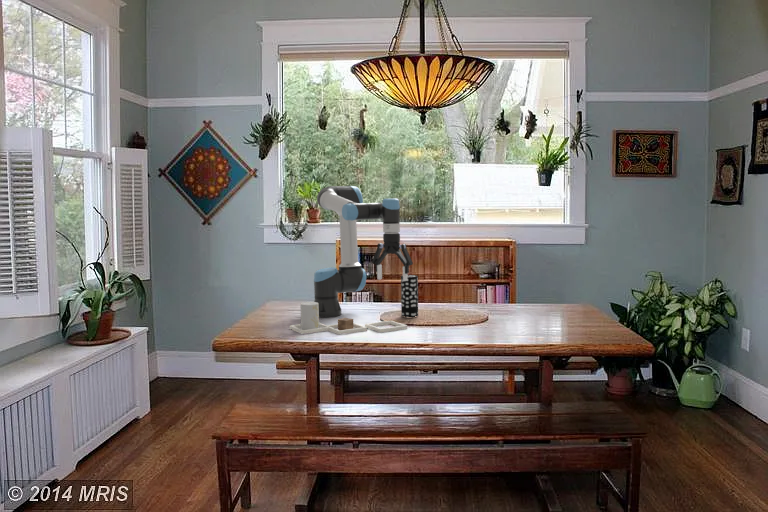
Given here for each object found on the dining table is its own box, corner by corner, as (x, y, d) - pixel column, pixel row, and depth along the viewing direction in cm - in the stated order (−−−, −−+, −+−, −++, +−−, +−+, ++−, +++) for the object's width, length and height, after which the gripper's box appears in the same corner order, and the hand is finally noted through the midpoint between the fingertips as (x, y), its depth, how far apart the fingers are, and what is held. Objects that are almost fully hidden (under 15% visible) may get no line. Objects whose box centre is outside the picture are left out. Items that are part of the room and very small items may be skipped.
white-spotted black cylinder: (420, 315, 337) (419, 275, 335) (415, 318, 330) (415, 277, 328) (404, 314, 340) (403, 274, 338) (399, 317, 332) (398, 277, 330)
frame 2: (324, 329, 308) (324, 325, 308) (352, 325, 315) (352, 322, 315) (339, 334, 296) (338, 331, 296) (366, 330, 303) (366, 327, 303)
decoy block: (337, 330, 305) (337, 319, 305) (345, 328, 309) (345, 317, 308) (346, 331, 302) (345, 320, 301) (353, 329, 306) (353, 318, 305)
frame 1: (289, 328, 310) (289, 325, 310) (317, 325, 317) (317, 321, 317) (302, 334, 298) (302, 330, 298) (330, 330, 305) (330, 327, 305)
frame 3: (365, 327, 311) (365, 323, 310) (391, 323, 318) (391, 320, 318) (380, 332, 299) (380, 329, 298) (407, 328, 306) (407, 325, 306)
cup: (316, 331, 303) (315, 305, 301) (298, 331, 304) (297, 304, 303) (321, 327, 311) (320, 302, 309) (304, 327, 312) (303, 301, 311)
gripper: (363, 232, 307) (364, 279, 309) (411, 234, 293) (411, 282, 296) (373, 231, 313) (373, 277, 315) (419, 233, 300) (420, 280, 302)
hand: (392, 280), depth 305 cm, fingers open, 13 cm apart
